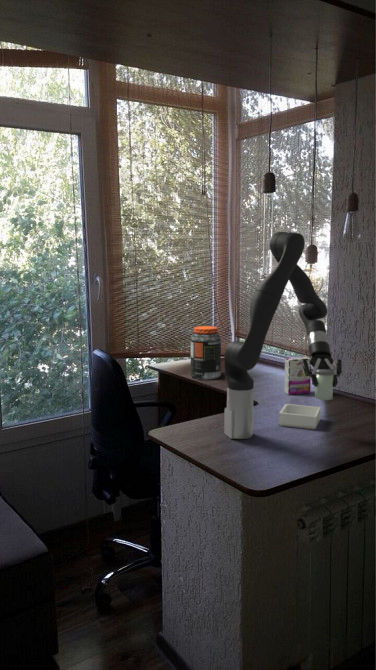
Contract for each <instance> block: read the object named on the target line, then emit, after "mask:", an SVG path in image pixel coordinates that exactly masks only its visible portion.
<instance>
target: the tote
mask: <svg viewBox="0 0 376 670" xmlns="http://www.w3.org/2000/svg"><path fill="white" fill-rule="evenodd" d="M321 410H322V407H321V406H313V405H312V406H310V405H302V404H291V403H285V404H284V405H283V407H282V408H281V409H280V411H279V412H278V426H279V427H288V428H297V429H304V430H305V429H306V430H314V429H315V431H316V430H317V428H318V426H317V425H319V423H320V421H321V416H322V415H321V412H322V411H321Z"/></svg>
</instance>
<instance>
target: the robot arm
mask: <svg viewBox="0 0 376 670" xmlns="http://www.w3.org/2000/svg"><path fill="white" fill-rule="evenodd" d="M305 243H306V241H305V238H304V236H303V234H301V233H300V232H291V231H277V232H275V233H273V235H272V236H271V237H270V240H269V249H270V252H271V254H272V256H273V257H274V259H275V261H276V262H277V263H278V264H277V265H276V267H275V268H274V269H273V270H272V271H271V272H270V273H269V274H268V275H267V276H266V277H265V278H264V279H263V280H262V281H261V282H260V283H259V284H258V285H257V286H256V288H255V291H254V294H253V296H252V298H251V301H250V304H249V319H250V320H249V322H250V323H249V329H248V332H247V334H246V337H245V339H244V340H243V341H239V340H233V341H230V343H228V344H227V346H226V348H225V351H224V361H223V362H224V378H225V382H226V407H224V419H223V420H224V422H223V423H224V424H223V425H224V428H223V430H224V432H223V434H224V435H226V436H227V437H228V438H229V439H231V440H232V439H234V440H236V439H237V440H245V439H246V440H247V439H250V438H252V437H253V436H254V435H253V432H254V393H255V392H254V391H255V390H254V389H255V387H254V386H255V383H254V379H253V378H252V376H250V374H249V373H248V372H249V371H251V370H252V369H254V368H255V367H256V365H257V364H258V362H259V360H260V358H261V357H260V356H261V354H262V351H263V349H264V348H263V347H264V344H265V340H266V336H267V334H268V331H269V329H270V327H271V324H272V322H273V318H274V317H275V313H276V312H277V310H278V307H279V305H280V302H281V299H282V297H283V294H284V292H285V290H286V287H287V285H288V283H289V282H290V285H291V286H292V288H293V291H294V294H295V296H296V298H297V300H298V302H299V303H300V304H302V305H300V307H299V308H298V315H299V317H300V319H301V321H302V322H303V324H304V327H305V331H306V337H307V348H308V353H309V358H310V360H306V359H303V362H302V366H303V369H304V372H305V375H306V376H307V377H308V376H310V377H311V384H312V386H313V387H314V388H315V387H317V377H316V373H315V369H317V368H328V369H333V370H334V375H333V388H336V386H337V385H338V378H340V376H341V374H342V360H341V359H340V358H339V359H337V360H336V359H334V358H332V353H331V347H330V342H329V338H328V335H327V330H326V325H325V323H324V321H322V320H320V319H324V318H325V317H326V316H327V315H328V307H327V305H326V303H325V302H324V301H323V299H321V298H320V296H319V295H318V294H317V292H316V290H315V288H314V285H313V282H312V280H311V278H310V277H309V275H308V274H307V273H306V272H305V271H304V270H303V269H302V268H301V267H300V266H299V264H298V262H299V261H300V259H301V257H302V256H303V255H302V254H303V253H304V249H305ZM309 363H310V364H311V367H313V369H312V370H311V371H310V370H309V367H308V366H309ZM333 365H334V366H335V368H336V370H335V368H334V366H333Z"/></svg>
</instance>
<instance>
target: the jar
mask: <svg viewBox="0 0 376 670" xmlns="http://www.w3.org/2000/svg"><path fill="white" fill-rule="evenodd" d="M334 370H335V369H334ZM334 370H333V369H328V368H317V369H315V373H316V374H315V375H316V377H317V387H314V398H315V399H316V400H320V401H329V400H333V395H334V394H333V392H334V391H333V390H334V387H333V375H334Z"/></svg>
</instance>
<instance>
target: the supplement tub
mask: <svg viewBox="0 0 376 670" xmlns="http://www.w3.org/2000/svg"><path fill="white" fill-rule="evenodd" d="M218 330H219V329H218V327H217V326H211V325H201V326H200V325H199V326H194V327H193V333H192V335H190V336H191V337H190V340H189V341H190V345H189V347H190V375H191V377H192V378H194V379H199V380H214V379H218V378H219V377H221V376H222V375H221V374H222V339H221V336H220V335H219V331H218Z"/></svg>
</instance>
